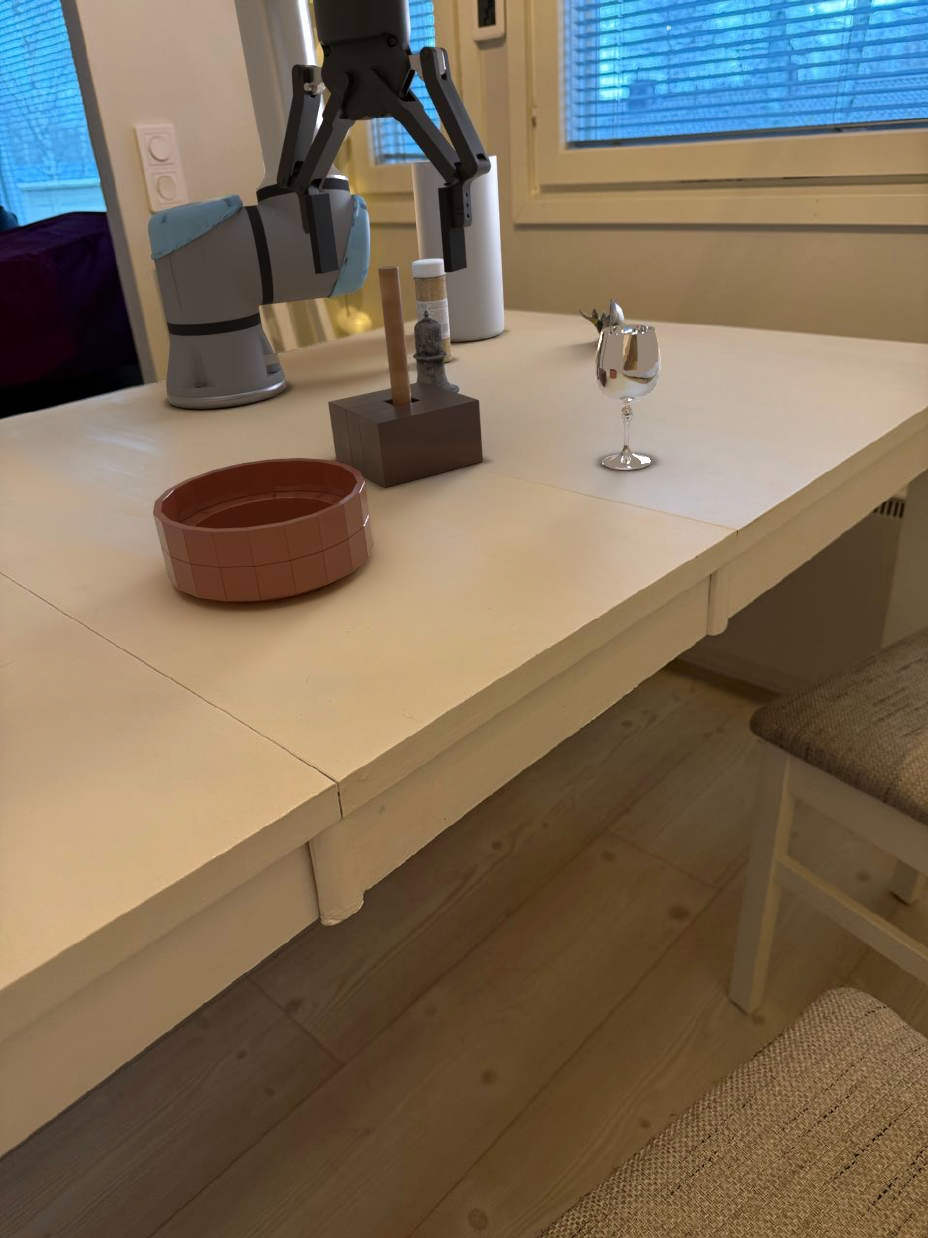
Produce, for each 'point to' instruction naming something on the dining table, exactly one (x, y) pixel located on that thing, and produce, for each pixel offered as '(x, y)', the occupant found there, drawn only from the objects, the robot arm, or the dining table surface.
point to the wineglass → (627, 378)
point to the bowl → (264, 529)
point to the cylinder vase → (481, 282)
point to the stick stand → (406, 433)
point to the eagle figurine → (610, 320)
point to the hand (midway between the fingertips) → (389, 271)
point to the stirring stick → (395, 334)
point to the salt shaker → (430, 354)
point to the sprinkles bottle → (433, 296)
